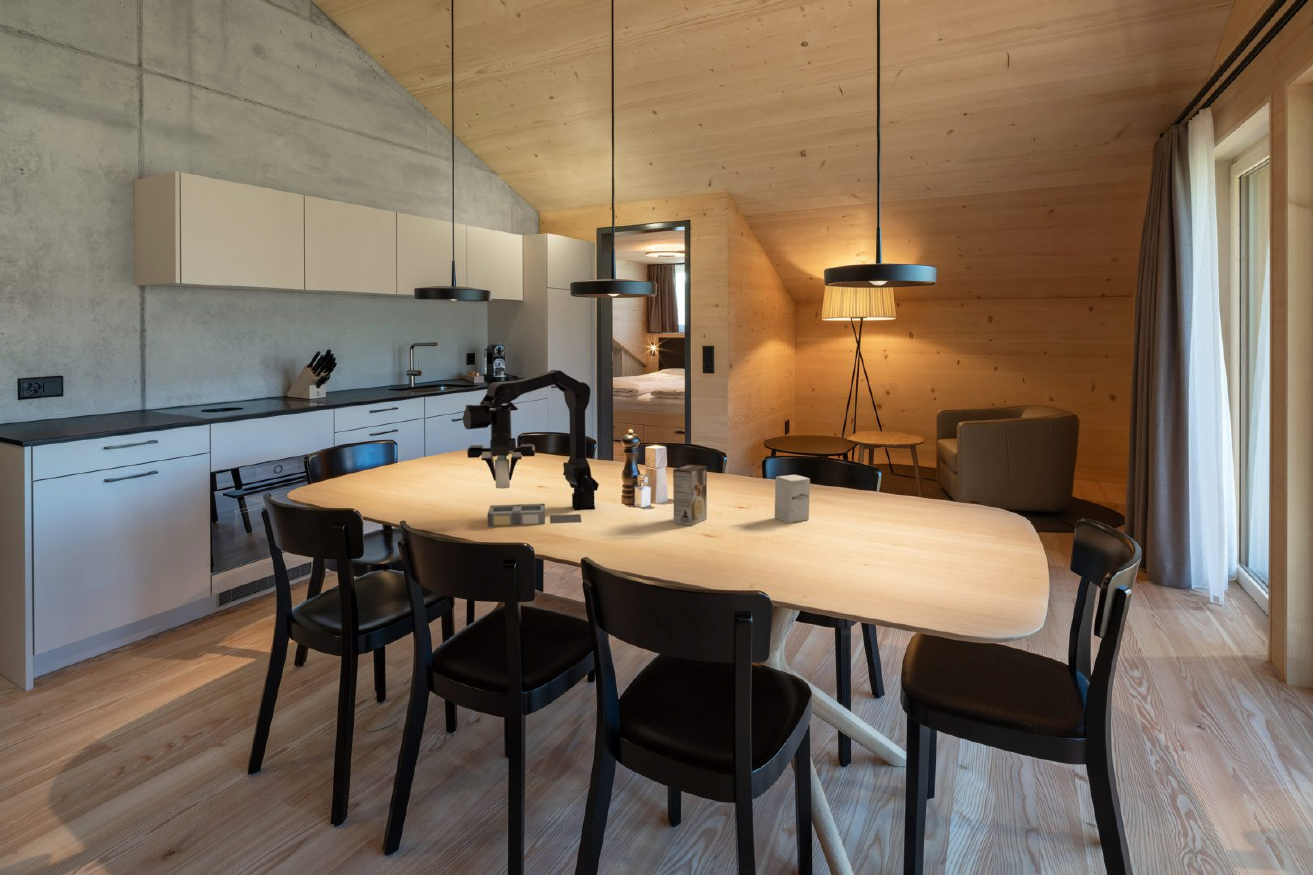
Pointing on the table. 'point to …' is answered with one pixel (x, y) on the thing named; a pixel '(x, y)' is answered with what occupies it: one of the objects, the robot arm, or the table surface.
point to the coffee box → (690, 494)
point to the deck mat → (565, 518)
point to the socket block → (516, 515)
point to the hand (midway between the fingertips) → (502, 480)
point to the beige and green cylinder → (502, 472)
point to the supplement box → (792, 498)
